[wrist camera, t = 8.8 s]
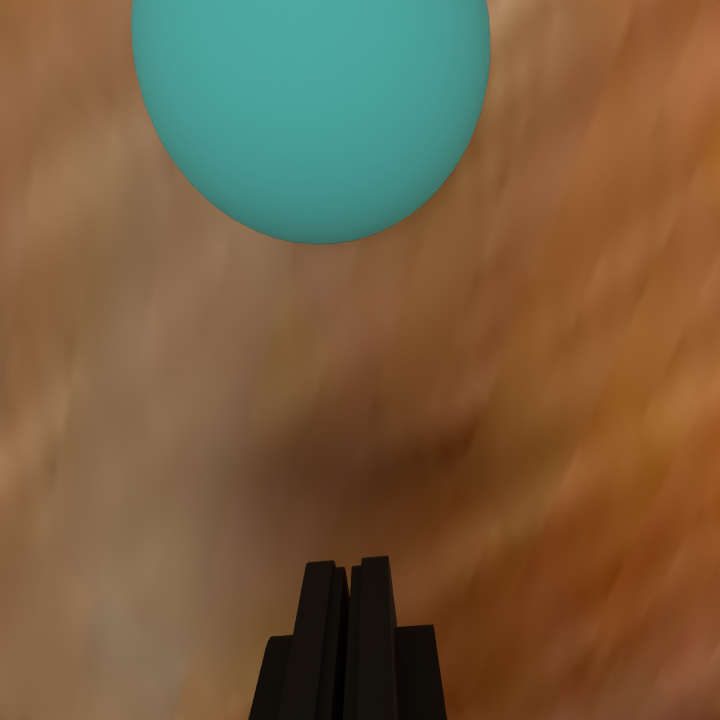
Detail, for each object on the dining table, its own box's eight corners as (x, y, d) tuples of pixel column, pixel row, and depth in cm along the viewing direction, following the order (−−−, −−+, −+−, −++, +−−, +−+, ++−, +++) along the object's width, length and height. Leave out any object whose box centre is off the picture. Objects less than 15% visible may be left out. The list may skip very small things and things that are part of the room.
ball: (504, -358, 6) (449, 22, 12) (30, -273, 6) (206, 55, 12) (566, 109, 5) (477, 265, 11) (40, 172, 6) (220, 292, 12)
